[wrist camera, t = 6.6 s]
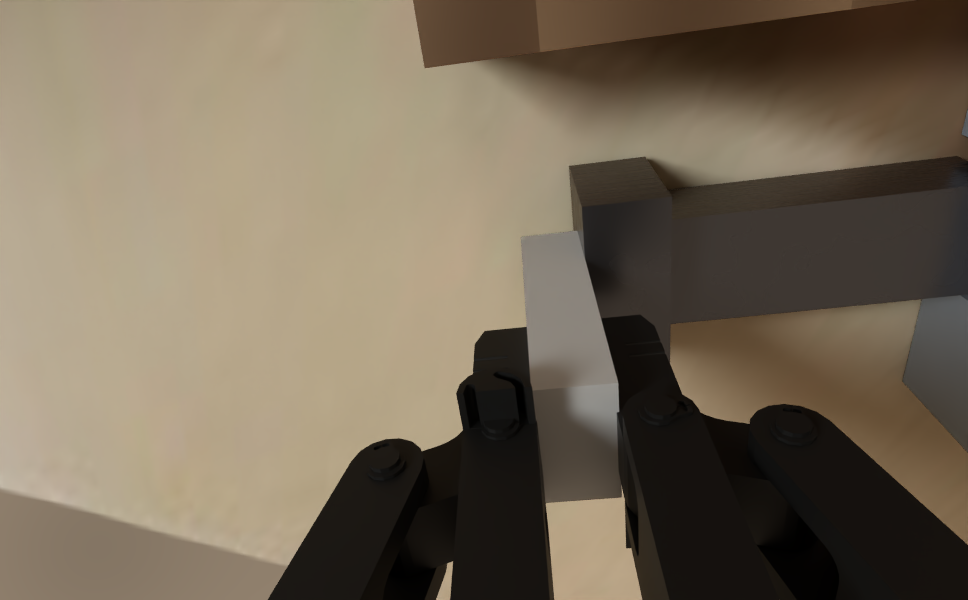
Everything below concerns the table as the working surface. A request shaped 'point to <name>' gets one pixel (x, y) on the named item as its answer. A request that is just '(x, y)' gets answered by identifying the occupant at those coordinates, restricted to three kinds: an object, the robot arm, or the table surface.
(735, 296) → the dark grey t-shaped block
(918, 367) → the socket block
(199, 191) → the table surface
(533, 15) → the rack
